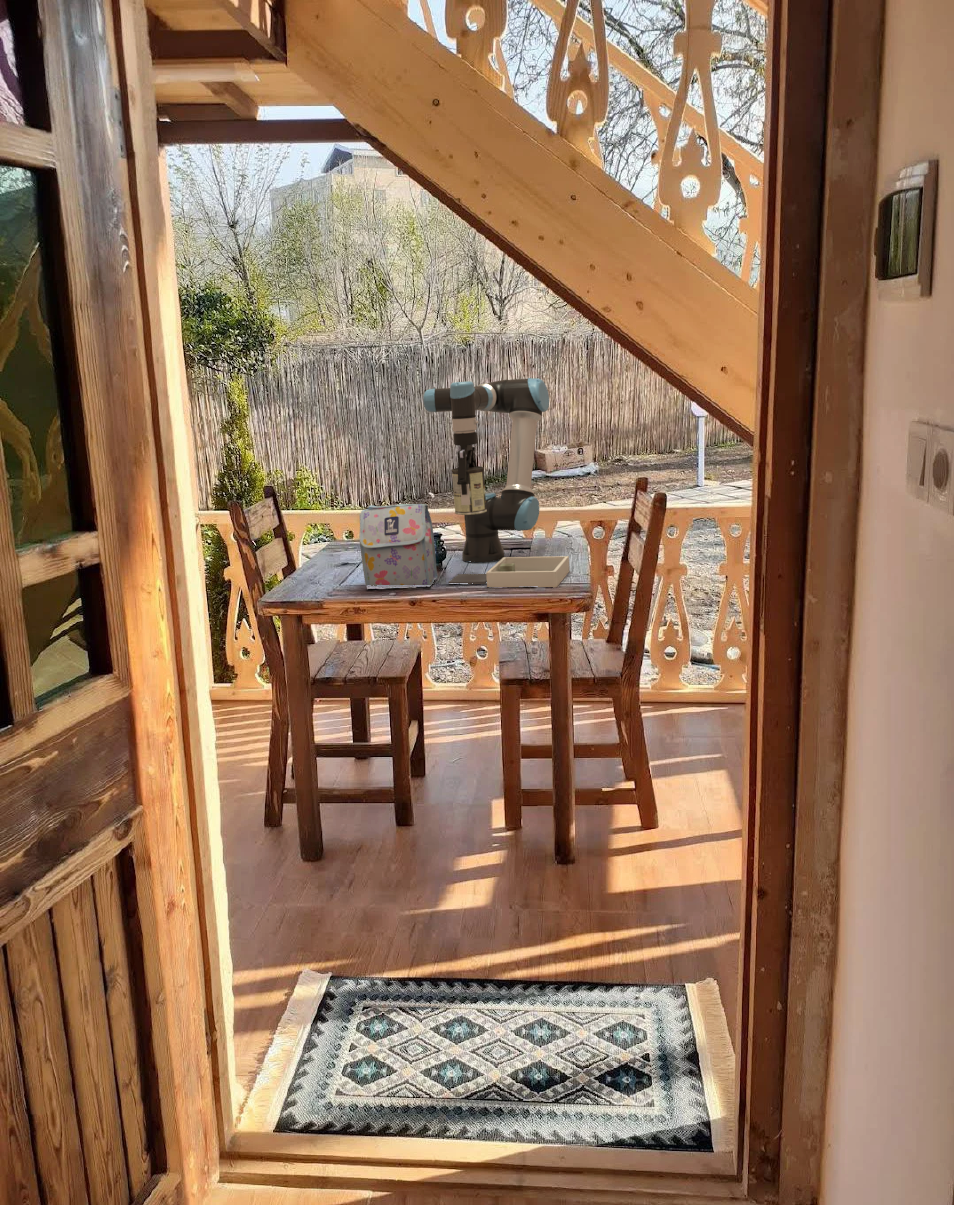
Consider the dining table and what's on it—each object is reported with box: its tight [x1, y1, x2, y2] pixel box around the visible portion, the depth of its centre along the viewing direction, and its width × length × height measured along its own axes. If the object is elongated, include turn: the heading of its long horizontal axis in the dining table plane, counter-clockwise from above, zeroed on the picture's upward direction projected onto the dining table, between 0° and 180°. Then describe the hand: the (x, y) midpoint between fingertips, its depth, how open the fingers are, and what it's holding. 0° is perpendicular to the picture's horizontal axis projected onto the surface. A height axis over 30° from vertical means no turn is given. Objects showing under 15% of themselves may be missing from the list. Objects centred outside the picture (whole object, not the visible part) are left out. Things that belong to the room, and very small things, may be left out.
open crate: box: [485, 555, 570, 589], centre depth 331 cm, size 22×24×5 cm
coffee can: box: [450, 466, 487, 516], centre depth 329 cm, size 10×10×14 cm
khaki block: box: [500, 563, 515, 572], centre depth 333 cm, size 4×4×5 cm
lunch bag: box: [359, 503, 439, 586], centre depth 332 cm, size 22×17×26 cm
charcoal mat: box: [448, 573, 487, 585], centre depth 336 cm, size 12×12×1 cm
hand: (469, 502), depth 330 cm, fingers closed on coffee can, 10 cm apart
